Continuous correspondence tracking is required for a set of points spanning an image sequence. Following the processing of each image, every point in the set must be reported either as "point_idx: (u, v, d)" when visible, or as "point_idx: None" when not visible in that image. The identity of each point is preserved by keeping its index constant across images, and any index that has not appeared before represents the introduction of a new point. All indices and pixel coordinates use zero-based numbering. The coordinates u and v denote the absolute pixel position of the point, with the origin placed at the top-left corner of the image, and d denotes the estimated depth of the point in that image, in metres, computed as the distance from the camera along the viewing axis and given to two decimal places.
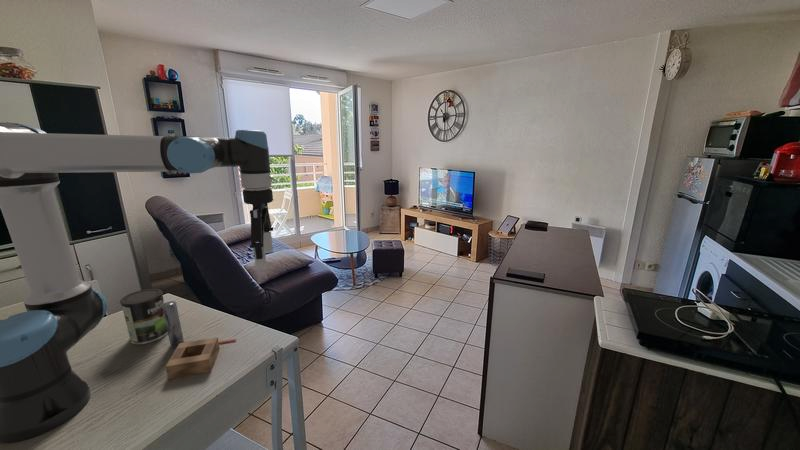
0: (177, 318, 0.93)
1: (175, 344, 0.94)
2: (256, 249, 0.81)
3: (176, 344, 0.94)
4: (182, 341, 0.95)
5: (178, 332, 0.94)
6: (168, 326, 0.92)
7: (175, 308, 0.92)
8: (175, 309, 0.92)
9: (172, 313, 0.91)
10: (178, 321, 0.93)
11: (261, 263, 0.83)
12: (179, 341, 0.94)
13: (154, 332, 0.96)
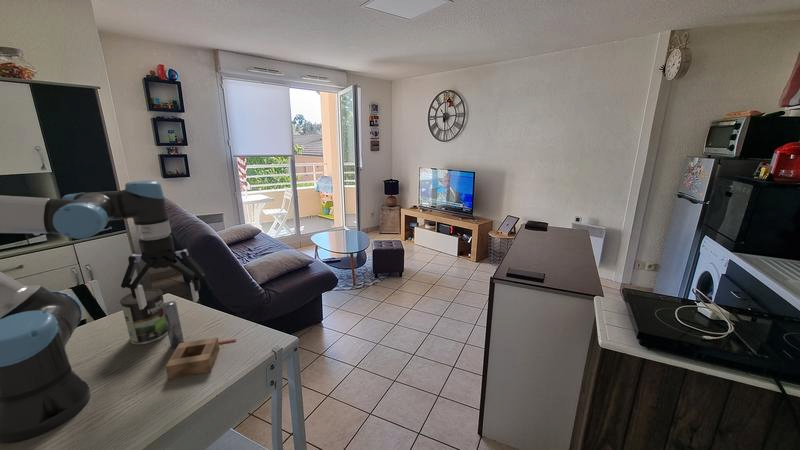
0: (177, 318, 0.93)
1: (175, 344, 0.94)
2: None
3: (176, 344, 0.94)
4: (182, 341, 0.95)
5: (178, 332, 0.94)
6: (168, 326, 0.92)
7: (175, 308, 0.92)
8: (175, 309, 0.92)
9: (172, 313, 0.91)
10: (178, 321, 0.93)
11: None
12: (179, 341, 0.94)
13: (154, 332, 0.96)
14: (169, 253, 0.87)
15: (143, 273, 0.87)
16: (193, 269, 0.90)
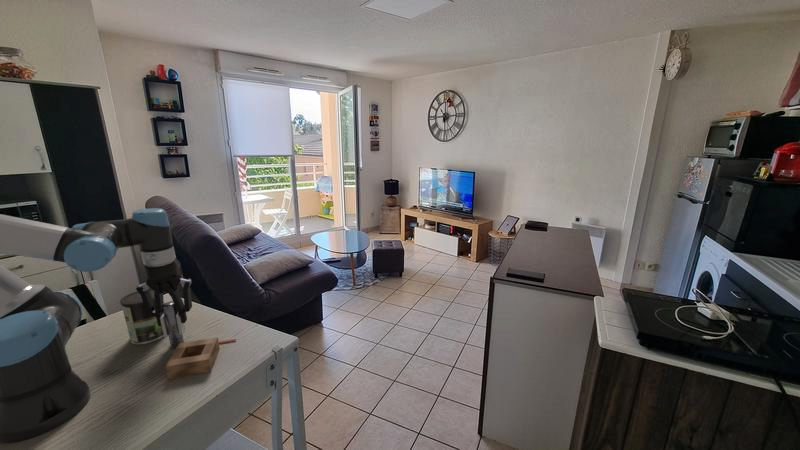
0: None
1: (175, 344, 0.94)
2: None
3: (176, 344, 0.94)
4: (182, 341, 0.95)
5: (178, 332, 0.94)
6: (168, 326, 0.92)
7: (175, 308, 0.92)
8: (175, 309, 0.92)
9: (172, 313, 0.91)
10: None
11: None
12: (179, 341, 0.94)
13: (154, 332, 0.96)
14: (175, 278, 0.89)
15: (158, 300, 0.90)
16: (185, 300, 0.92)
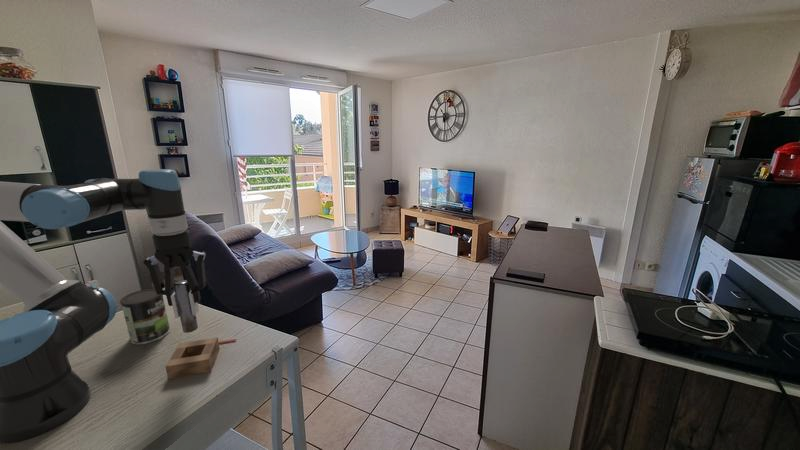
0: None
1: (188, 328, 0.83)
2: None
3: (189, 328, 0.83)
4: (196, 325, 0.85)
5: (191, 315, 0.83)
6: (180, 308, 0.81)
7: (188, 287, 0.81)
8: (188, 289, 0.81)
9: (185, 293, 0.81)
10: None
11: None
12: (192, 325, 0.84)
13: (154, 332, 0.96)
14: (187, 250, 0.79)
15: (168, 275, 0.79)
16: (199, 276, 0.81)
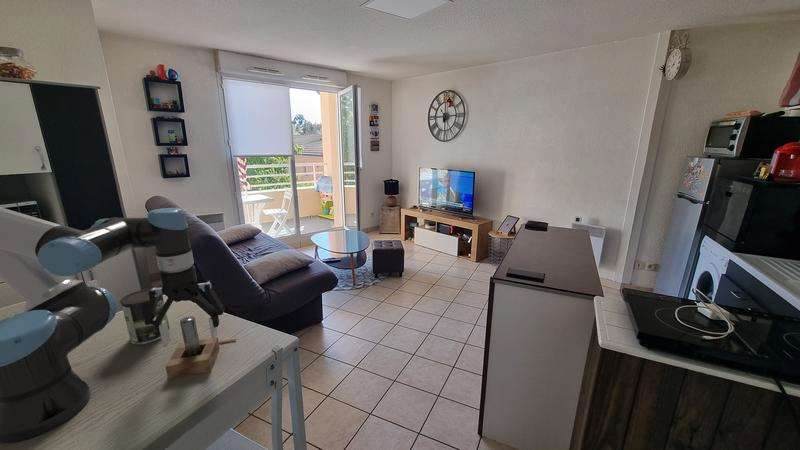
0: (196, 335, 0.85)
1: None
2: None
3: None
4: None
5: (197, 350, 0.86)
6: (186, 344, 0.84)
7: (194, 324, 0.84)
8: (194, 325, 0.84)
9: (191, 330, 0.84)
10: (197, 338, 0.86)
11: None
12: None
13: (154, 332, 0.96)
14: (192, 285, 0.81)
15: (166, 308, 0.80)
16: (214, 304, 0.84)
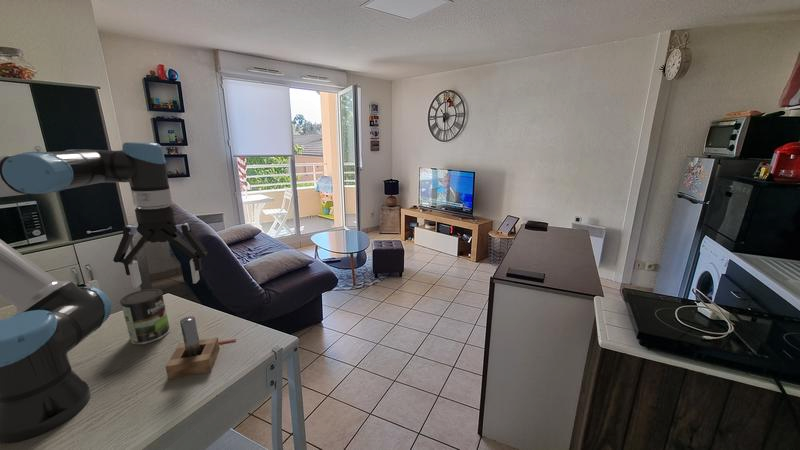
0: (196, 335, 0.85)
1: None
2: None
3: None
4: None
5: (197, 350, 0.86)
6: (186, 344, 0.84)
7: (194, 324, 0.84)
8: (194, 325, 0.84)
9: (191, 330, 0.84)
10: (197, 338, 0.86)
11: None
12: None
13: (154, 332, 0.96)
14: (168, 226, 0.78)
15: (138, 247, 0.77)
16: (194, 245, 0.81)
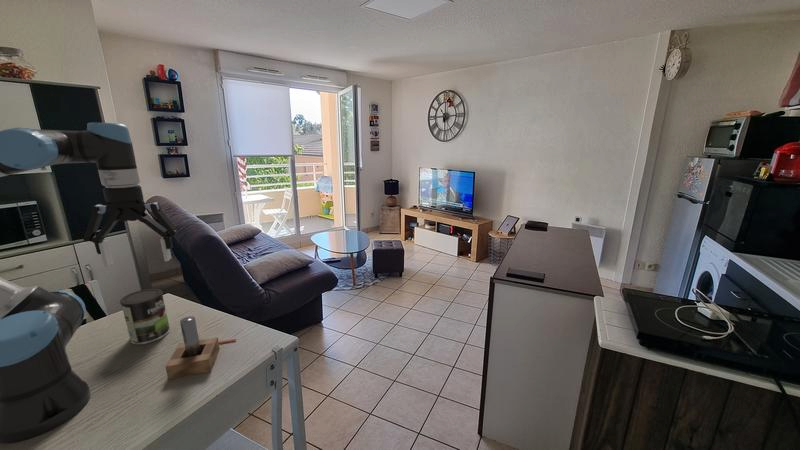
0: (196, 335, 0.85)
1: None
2: None
3: None
4: None
5: (197, 350, 0.86)
6: (186, 344, 0.84)
7: (194, 324, 0.84)
8: (194, 325, 0.84)
9: (191, 330, 0.84)
10: (197, 338, 0.86)
11: None
12: None
13: (154, 332, 0.96)
14: (137, 205, 0.80)
15: (108, 226, 0.80)
16: (164, 224, 0.83)
